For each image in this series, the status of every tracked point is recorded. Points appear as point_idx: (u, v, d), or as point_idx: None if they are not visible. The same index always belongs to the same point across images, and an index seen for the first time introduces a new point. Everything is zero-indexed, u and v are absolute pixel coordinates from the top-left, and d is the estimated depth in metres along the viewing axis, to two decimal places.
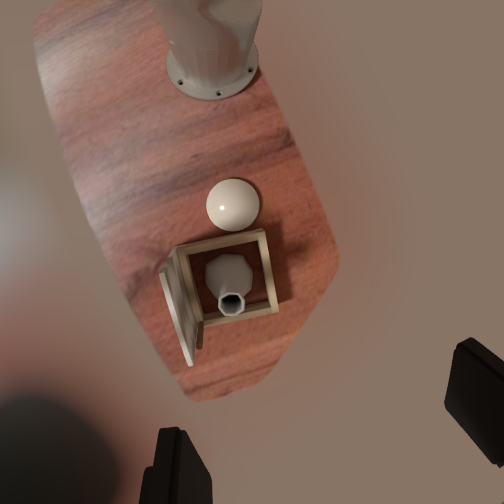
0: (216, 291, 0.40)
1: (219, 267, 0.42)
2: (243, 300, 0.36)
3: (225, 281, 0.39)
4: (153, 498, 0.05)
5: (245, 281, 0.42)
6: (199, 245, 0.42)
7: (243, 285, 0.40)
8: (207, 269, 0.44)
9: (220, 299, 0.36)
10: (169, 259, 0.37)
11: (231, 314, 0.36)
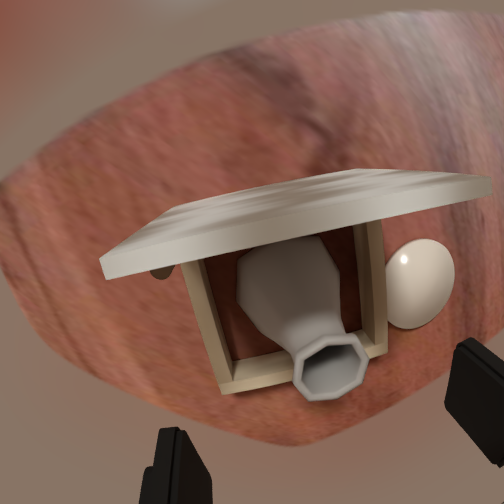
0: (305, 289, 0.15)
1: (333, 276, 0.18)
2: (338, 395, 0.12)
3: (338, 313, 0.15)
4: (153, 498, 0.05)
5: None
6: (380, 232, 0.18)
7: None
8: (317, 244, 0.19)
9: (351, 342, 0.11)
10: None
11: (299, 374, 0.11)
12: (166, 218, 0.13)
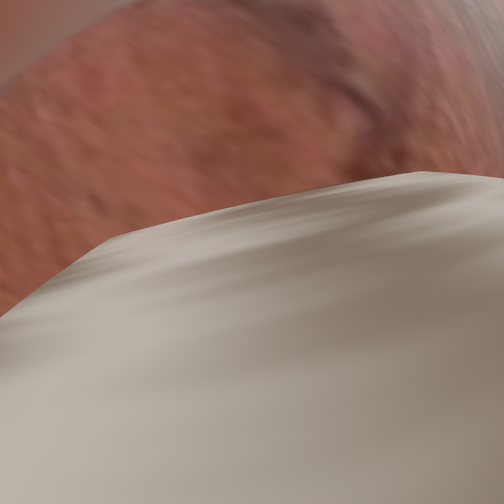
0: None
1: None
2: None
3: None
4: None
5: None
6: None
7: None
8: None
9: None
10: None
11: None
12: (38, 303, 0.04)
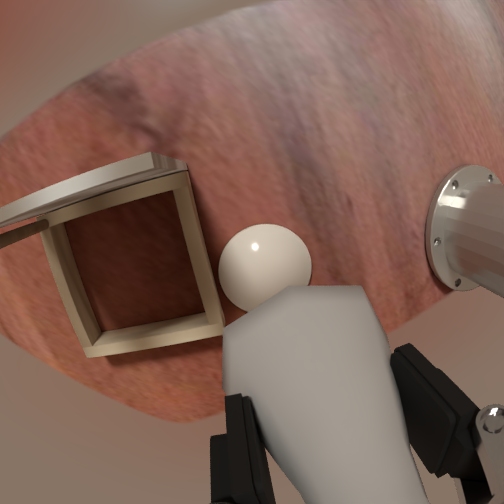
0: (357, 417, 0.07)
1: (389, 360, 0.10)
2: None
3: (409, 447, 0.06)
4: (234, 458, 0.06)
5: None
6: (193, 217, 0.21)
7: None
8: (361, 304, 0.11)
9: None
10: (173, 165, 0.15)
11: None
12: None
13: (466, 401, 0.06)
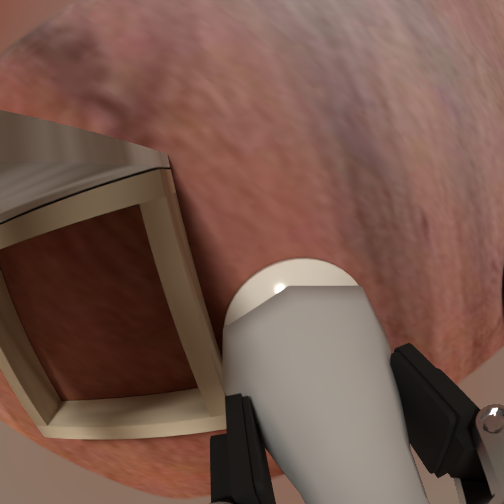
0: (357, 417, 0.07)
1: (388, 360, 0.10)
2: None
3: (409, 447, 0.06)
4: (234, 458, 0.06)
5: None
6: (178, 255, 0.11)
7: None
8: (361, 304, 0.11)
9: None
10: (115, 156, 0.06)
11: None
12: None
13: (466, 401, 0.06)
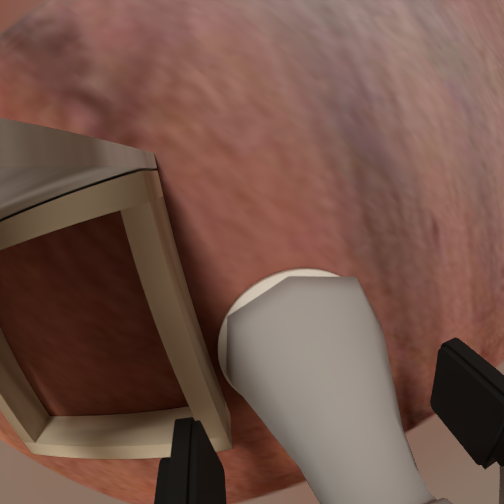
0: (351, 393, 0.08)
1: (382, 346, 0.11)
2: None
3: (400, 424, 0.07)
4: (172, 487, 0.06)
5: None
6: (164, 268, 0.10)
7: None
8: (355, 293, 0.11)
9: None
10: (78, 156, 0.05)
11: None
12: None
13: None
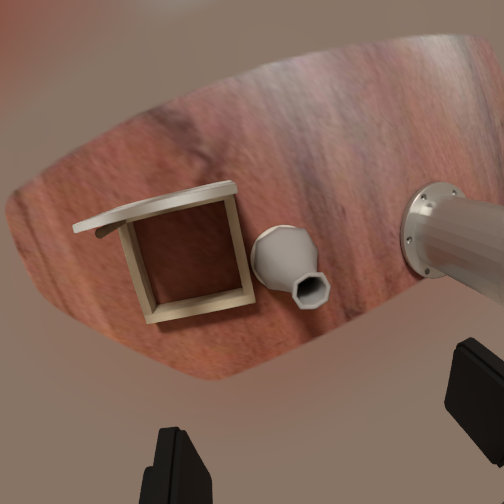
0: (297, 255, 0.28)
1: (313, 251, 0.31)
2: (316, 307, 0.25)
3: (315, 268, 0.28)
4: (153, 498, 0.05)
5: (301, 290, 0.30)
6: (237, 219, 0.31)
7: (303, 291, 0.29)
8: (303, 233, 0.32)
9: (320, 276, 0.24)
10: None
11: (295, 292, 0.24)
12: (106, 212, 0.25)
13: None
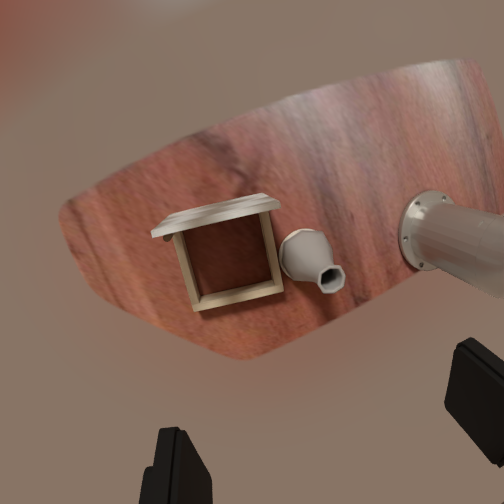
0: (318, 252, 0.36)
1: (329, 249, 0.39)
2: (334, 291, 0.33)
3: (332, 263, 0.36)
4: (153, 498, 0.05)
5: (320, 280, 0.38)
6: (270, 225, 0.38)
7: (323, 280, 0.37)
8: (321, 235, 0.40)
9: (338, 267, 0.32)
10: None
11: (320, 280, 0.32)
12: (168, 220, 0.33)
13: None
